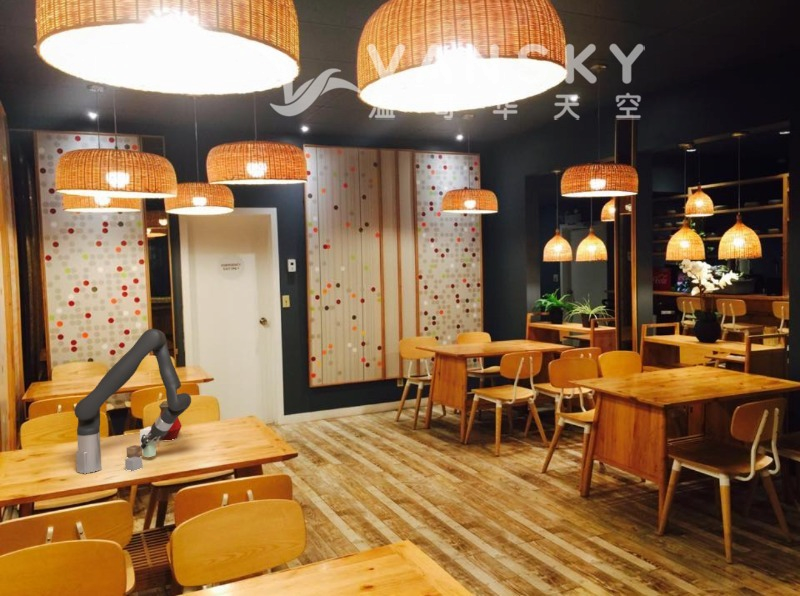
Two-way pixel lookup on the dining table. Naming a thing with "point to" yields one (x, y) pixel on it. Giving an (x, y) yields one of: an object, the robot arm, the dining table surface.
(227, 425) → the dining table surface
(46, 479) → the dining table surface
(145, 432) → the small box
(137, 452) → the walnut block
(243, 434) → the dining table surface
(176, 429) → the bottle
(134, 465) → the grey cube
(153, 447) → the sage block
